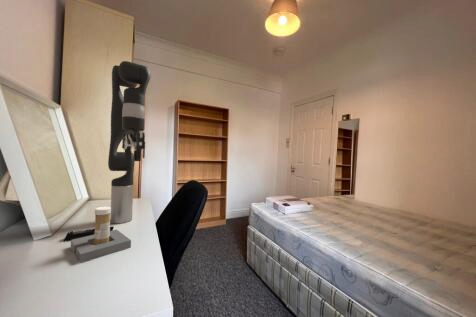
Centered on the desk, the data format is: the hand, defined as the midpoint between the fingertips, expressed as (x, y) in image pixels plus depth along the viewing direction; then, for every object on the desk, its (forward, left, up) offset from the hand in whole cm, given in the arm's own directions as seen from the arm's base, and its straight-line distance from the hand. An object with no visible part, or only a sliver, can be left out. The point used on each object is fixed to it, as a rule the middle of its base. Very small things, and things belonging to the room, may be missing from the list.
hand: (132, 160), depth 74 cm
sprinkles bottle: (-1, -9, -30) cm, 31 cm away
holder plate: (-1, -9, -30) cm, 31 cm away
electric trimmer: (-15, -9, -31) cm, 35 cm away
